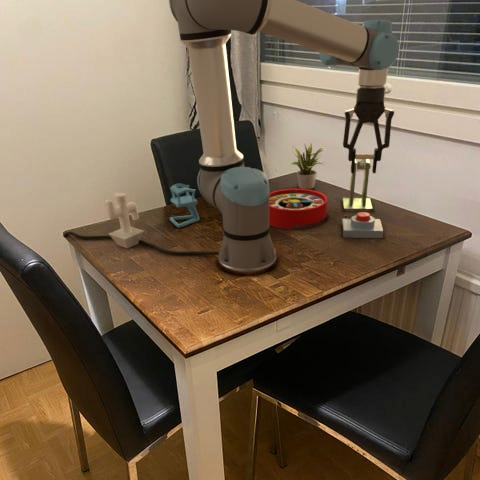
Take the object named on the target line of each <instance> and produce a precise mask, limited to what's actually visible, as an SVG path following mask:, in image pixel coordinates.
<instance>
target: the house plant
mask: <svg viewBox="0 0 480 480" xmlns="http://www.w3.org/2000/svg"><path fill="white" fill-rule="evenodd" d="M303 144H304V148H305V152H303V153H302V154H301V153H300V150H299V149H298V148H296V147H295V146H293V145H292V146H291V147H292V148H293V149H294V151H295V152H294V151H292V154H293V155H295V157H296V158H297V159H298V160H297V161H293V162H291V165H296V166H297V167H298V168H299V170H298V171H296V177H297V187H298V189H307V190H312V189H314V187H315V185H316V178H317V171H316V170H315V169H313V167H315V166H316V165H318V164H319V165H321V164H322V165H323V166H325V163H327V162H325V161H323V162H319V159H320V158H321V154H320V153H321V152H323V151H325V149H324V148H326V147H327V146H326V145H325V146H322V147H320V148H319V149H318V150H316V152H314V153H312V152H313V144H312V143H310V144H309V146H308V148H307V146H306V143H303ZM319 165H318V166H319Z"/></svg>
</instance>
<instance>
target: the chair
mask: <svg viewBox="0 0 480 480" xmlns="http://www.w3.org/2000/svg"><path fill="white" fill-rule="evenodd" d="M169 189H170V192H171V195H172V197H171V198H170V202H171V203H172V204H174V205H175V206H176V208H182V207H186V208H187V209H188V211H189V213H190V214H189V215H180V216H179V215H178V216H169V221H170V222H171V223H172V224H173V225H174V226H175V227H177V228H178V229H180V228H183V227H185V226H188V225H190V224H193V223H196V222H199V221H200V215H199V212H198V211H197V207H196V206H197V204H198V200H197V199H196V198H195V193H196V189H193V188H190V185H189V184H184V183H181V182H180V183H178V182H177V183H175V184H173V185H172V186H170V187H169ZM184 193H185V194H186V195H183V196H181V195H182V194H184ZM190 193H192V194H191V195H190ZM180 220H181V221H183V220H186V221H184V222H181V223H178V221H180Z"/></svg>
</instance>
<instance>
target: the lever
mask: <svg viewBox="0 0 480 480" xmlns="http://www.w3.org/2000/svg"><path fill="white" fill-rule="evenodd" d="M374 158H375V154H374V153H356V156H355V159H356V160H360V161H356V162H357V165H356V173H358V172H359V173H360V172H362V173H364V170H365V161H366V159H369V160H373V159H374Z"/></svg>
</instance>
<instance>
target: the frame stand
mask: <svg viewBox="0 0 480 480" xmlns="http://www.w3.org/2000/svg"><path fill="white" fill-rule="evenodd" d="M357 162H358V161H357V159H355V167H354V173H351V172H350V173H351V175H350V186H349V197H342V204H343V209H350V210H351V209H352V210H353V209H356V210H357V209H359V210H361V209H364V210H365V209H366V210H368V209H369V210H372V209H373V205H372V201H371V198H370V197H368V196H367V195H368V187H369V185H368V184H369V177H370V176H369V175H370V170H371V168H372V164H371V162H370V159H366V161H365V169H364V172H363V180H362V181H363V182H362V191H361V197H355V187H356V176H357V172H356V171H357Z"/></svg>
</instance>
